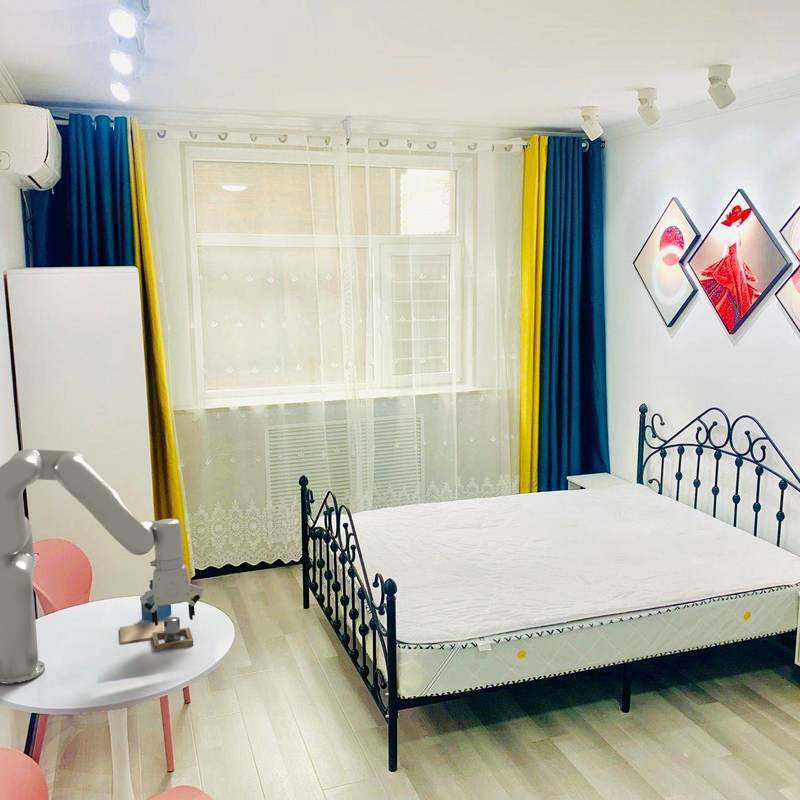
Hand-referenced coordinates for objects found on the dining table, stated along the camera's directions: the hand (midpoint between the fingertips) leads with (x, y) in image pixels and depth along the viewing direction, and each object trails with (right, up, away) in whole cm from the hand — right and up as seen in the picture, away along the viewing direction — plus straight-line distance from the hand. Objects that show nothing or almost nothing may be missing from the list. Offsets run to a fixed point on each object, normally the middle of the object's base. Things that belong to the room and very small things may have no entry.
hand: (173, 621), depth 230 cm
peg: (0, -6, 0) cm, 6 cm away
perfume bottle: (-11, -5, +19) cm, 22 cm away
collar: (0, -6, 0) cm, 6 cm away
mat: (-11, -5, +7) cm, 14 cm away
